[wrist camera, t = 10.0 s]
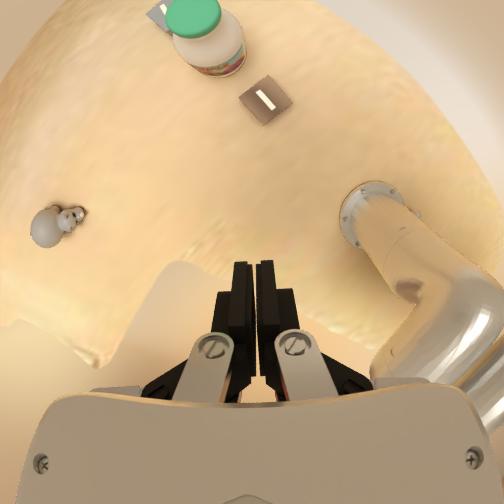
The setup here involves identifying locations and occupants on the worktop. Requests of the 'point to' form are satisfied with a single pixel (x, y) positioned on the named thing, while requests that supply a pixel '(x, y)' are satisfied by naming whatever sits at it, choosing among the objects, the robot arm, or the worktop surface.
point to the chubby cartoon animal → (54, 225)
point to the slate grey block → (160, 14)
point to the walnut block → (265, 100)
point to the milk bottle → (206, 36)
